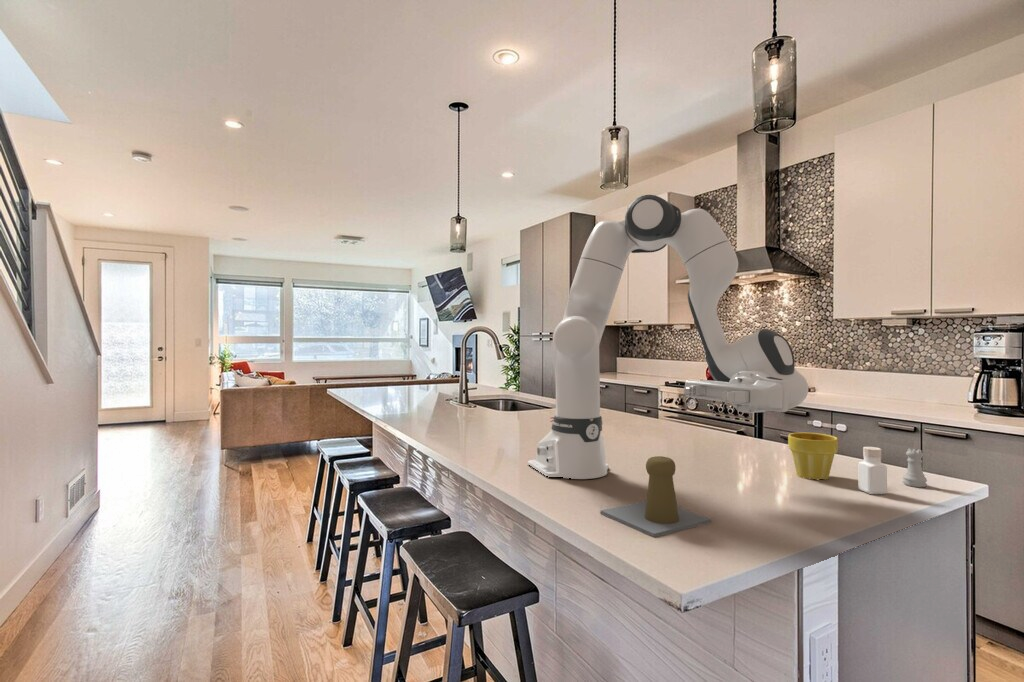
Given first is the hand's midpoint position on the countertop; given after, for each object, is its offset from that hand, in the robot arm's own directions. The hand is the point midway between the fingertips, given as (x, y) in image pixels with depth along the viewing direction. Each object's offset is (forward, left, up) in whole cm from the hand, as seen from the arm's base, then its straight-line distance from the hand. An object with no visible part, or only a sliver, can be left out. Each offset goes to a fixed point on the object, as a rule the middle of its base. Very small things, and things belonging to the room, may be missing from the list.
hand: (704, 393), depth 103 cm
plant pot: (-2, +40, -22) cm, 46 cm away
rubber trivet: (0, -14, -22) cm, 26 cm away
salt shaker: (+12, +38, -22) cm, 46 cm away
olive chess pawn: (+2, -14, -22) cm, 26 cm away
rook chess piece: (+14, +52, -22) cm, 58 cm away
